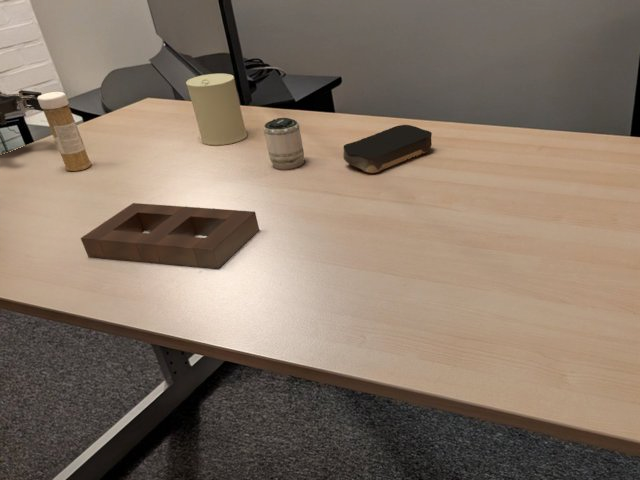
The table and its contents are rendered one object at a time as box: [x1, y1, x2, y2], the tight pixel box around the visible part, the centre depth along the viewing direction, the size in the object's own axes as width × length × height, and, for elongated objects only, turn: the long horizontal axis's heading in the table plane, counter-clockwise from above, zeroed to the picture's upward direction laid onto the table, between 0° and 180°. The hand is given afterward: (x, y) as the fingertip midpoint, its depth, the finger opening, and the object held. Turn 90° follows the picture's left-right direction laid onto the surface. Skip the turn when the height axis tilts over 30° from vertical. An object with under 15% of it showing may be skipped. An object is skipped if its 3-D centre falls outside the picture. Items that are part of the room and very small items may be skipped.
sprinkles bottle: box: [38, 91, 92, 172], centre depth 119 cm, size 5×5×14 cm
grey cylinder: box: [262, 117, 305, 170], centre depth 118 cm, size 6×6×8 cm
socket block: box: [80, 202, 260, 270], centre depth 95 cm, size 21×12×3 cm, turn 76°
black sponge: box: [343, 124, 433, 174], centre depth 119 cm, size 16×8×4 cm, turn 136°
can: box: [185, 73, 248, 146], centre depth 130 cm, size 9×9×12 cm
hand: (24, 111), depth 122 cm, fingers open, 8 cm apart
